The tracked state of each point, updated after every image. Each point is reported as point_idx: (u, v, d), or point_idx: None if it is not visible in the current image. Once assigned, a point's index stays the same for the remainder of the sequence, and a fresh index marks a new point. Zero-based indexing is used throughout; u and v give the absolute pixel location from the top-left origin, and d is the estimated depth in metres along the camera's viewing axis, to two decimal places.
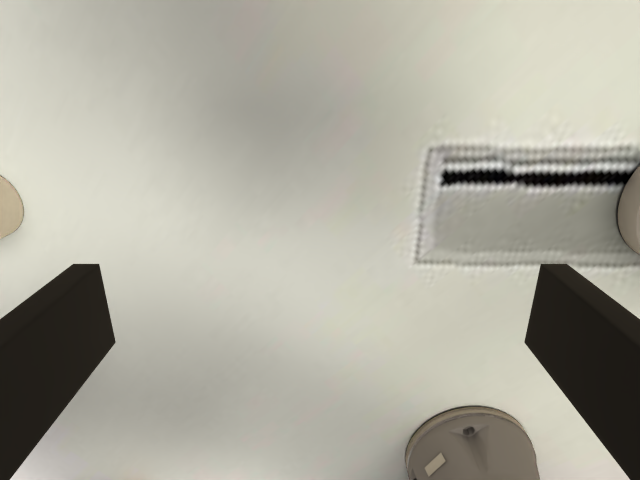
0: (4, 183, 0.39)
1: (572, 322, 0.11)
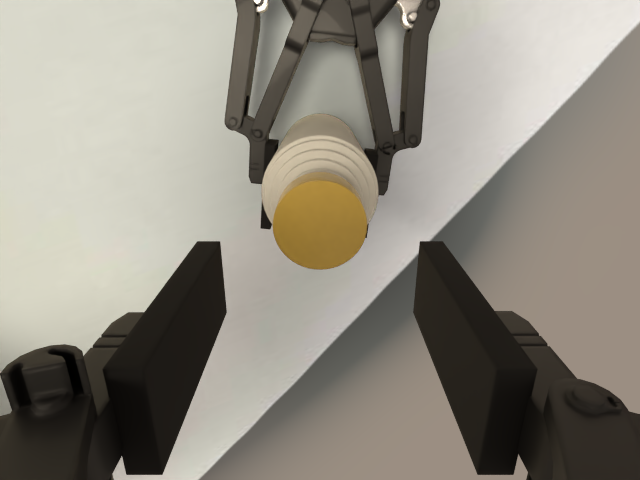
0: None
1: (432, 288, 0.12)
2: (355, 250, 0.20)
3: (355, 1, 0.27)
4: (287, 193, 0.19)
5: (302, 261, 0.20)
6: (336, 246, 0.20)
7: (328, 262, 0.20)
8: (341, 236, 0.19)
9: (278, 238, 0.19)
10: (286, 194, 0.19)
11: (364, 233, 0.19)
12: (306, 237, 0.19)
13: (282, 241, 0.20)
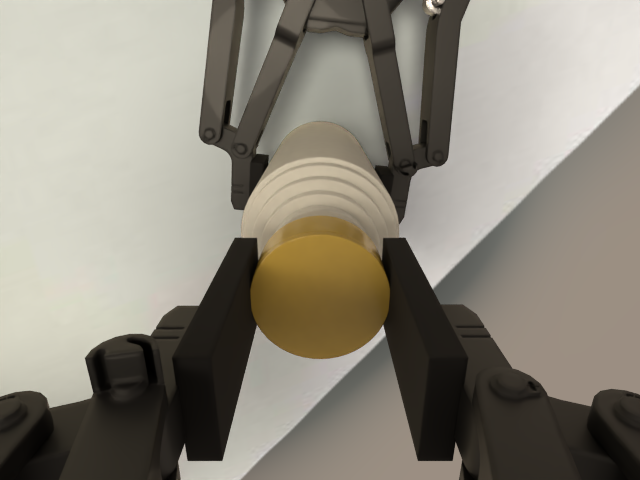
0: None
1: (390, 283, 0.13)
2: (372, 333, 0.13)
3: None
4: (271, 253, 0.12)
5: (294, 348, 0.14)
6: (344, 327, 0.13)
7: (332, 349, 0.14)
8: (352, 314, 0.13)
9: (258, 316, 0.13)
10: (269, 254, 0.12)
11: (386, 309, 0.13)
12: (300, 315, 0.13)
13: (264, 321, 0.13)
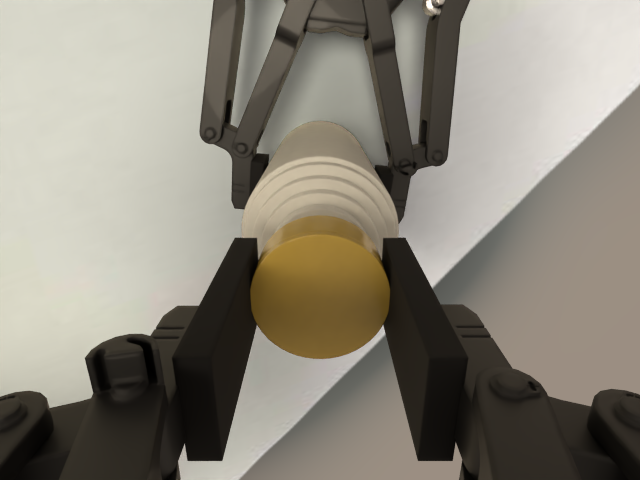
0: None
1: (390, 283, 0.13)
2: (325, 238, 0.12)
3: None
4: (301, 355, 0.14)
5: (383, 295, 0.13)
6: (334, 265, 0.12)
7: (364, 263, 0.12)
8: (316, 267, 0.12)
9: (366, 337, 0.13)
10: (303, 356, 0.14)
11: (293, 241, 0.12)
12: (344, 308, 0.13)
13: (367, 332, 0.13)
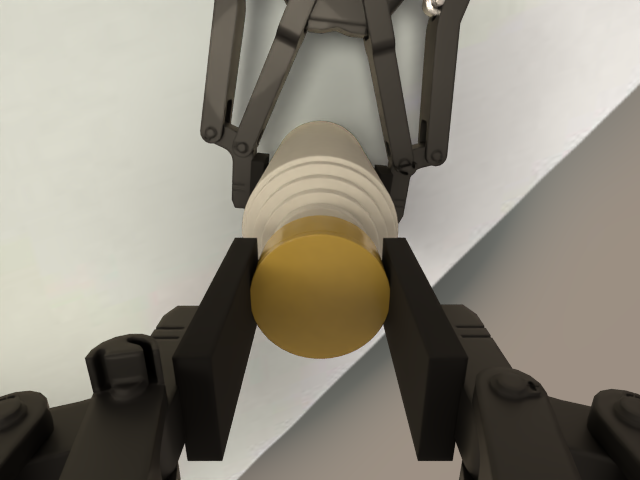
0: None
1: (390, 283, 0.13)
2: (262, 326, 0.13)
3: None
4: (388, 284, 0.13)
5: (280, 254, 0.12)
6: (280, 306, 0.13)
7: (261, 286, 0.13)
8: (291, 319, 0.13)
9: (333, 240, 0.12)
10: (387, 282, 0.13)
11: (281, 345, 0.14)
12: (314, 277, 0.13)
13: (326, 244, 0.12)
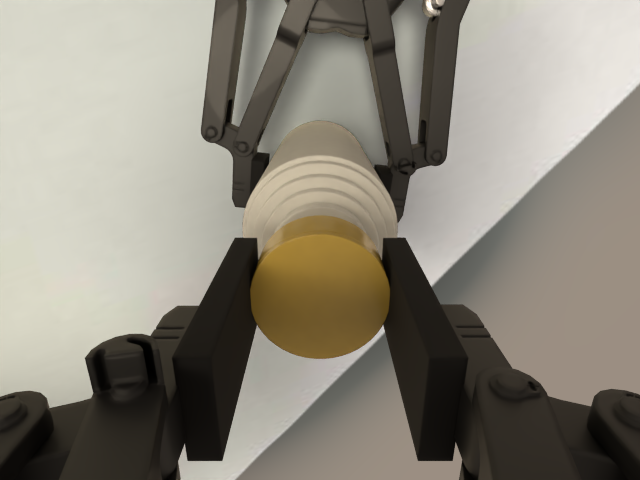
0: None
1: (390, 283, 0.13)
2: (374, 330, 0.13)
3: None
4: (268, 255, 0.12)
5: (297, 349, 0.14)
6: (346, 326, 0.13)
7: (335, 348, 0.14)
8: (353, 313, 0.13)
9: (259, 319, 0.13)
10: (266, 257, 0.12)
11: (387, 306, 0.13)
12: (301, 316, 0.13)
13: (265, 323, 0.13)
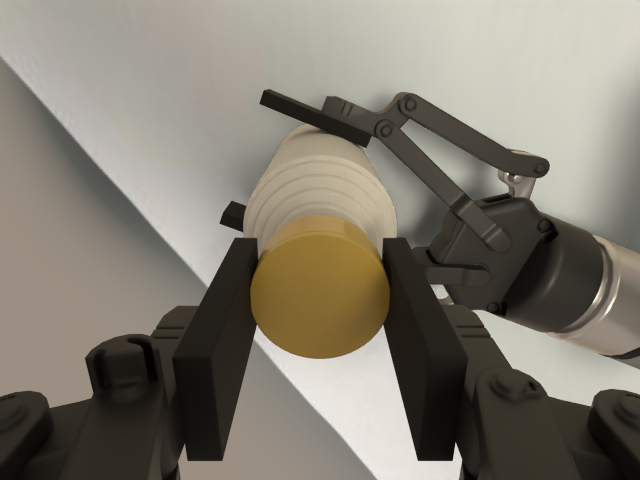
0: None
1: (390, 283, 0.13)
2: (374, 330, 0.13)
3: (475, 275, 0.26)
4: (268, 255, 0.12)
5: (297, 349, 0.14)
6: (346, 326, 0.13)
7: (335, 348, 0.14)
8: (353, 312, 0.13)
9: (259, 319, 0.13)
10: (266, 257, 0.12)
11: (387, 306, 0.13)
12: (301, 316, 0.13)
13: (265, 323, 0.13)
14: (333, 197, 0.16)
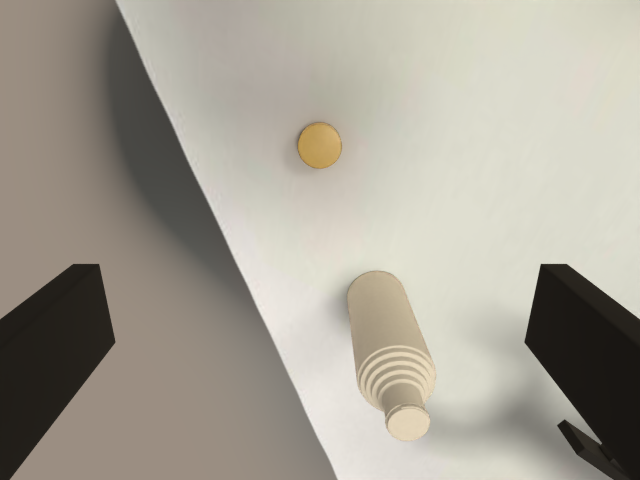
0: (393, 277, 0.48)
1: (572, 321, 0.11)
2: (337, 157, 0.42)
3: None
4: (304, 131, 0.41)
5: (312, 164, 0.42)
6: (328, 156, 0.42)
7: (324, 164, 0.42)
8: (330, 151, 0.42)
9: (300, 153, 0.42)
10: (303, 131, 0.41)
11: (340, 149, 0.42)
12: (313, 152, 0.42)
13: (302, 155, 0.42)
14: (414, 374, 0.34)
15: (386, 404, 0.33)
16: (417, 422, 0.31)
